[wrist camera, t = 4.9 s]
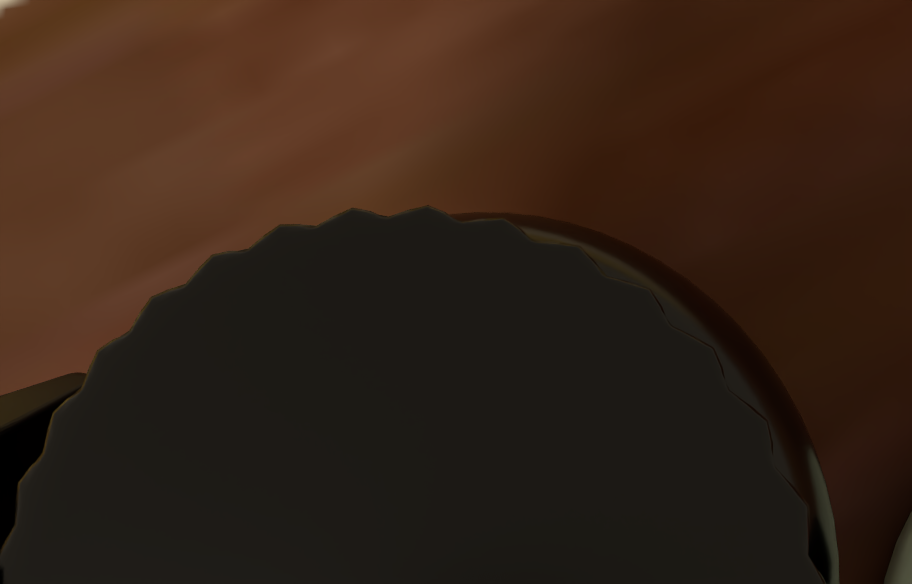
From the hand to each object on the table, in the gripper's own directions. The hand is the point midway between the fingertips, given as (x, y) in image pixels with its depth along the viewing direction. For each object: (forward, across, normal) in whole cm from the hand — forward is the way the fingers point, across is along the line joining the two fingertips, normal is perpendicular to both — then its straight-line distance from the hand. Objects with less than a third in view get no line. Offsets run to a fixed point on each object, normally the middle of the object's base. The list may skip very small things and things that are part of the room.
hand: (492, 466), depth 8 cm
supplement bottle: (+5, 0, -6) cm, 8 cm away
